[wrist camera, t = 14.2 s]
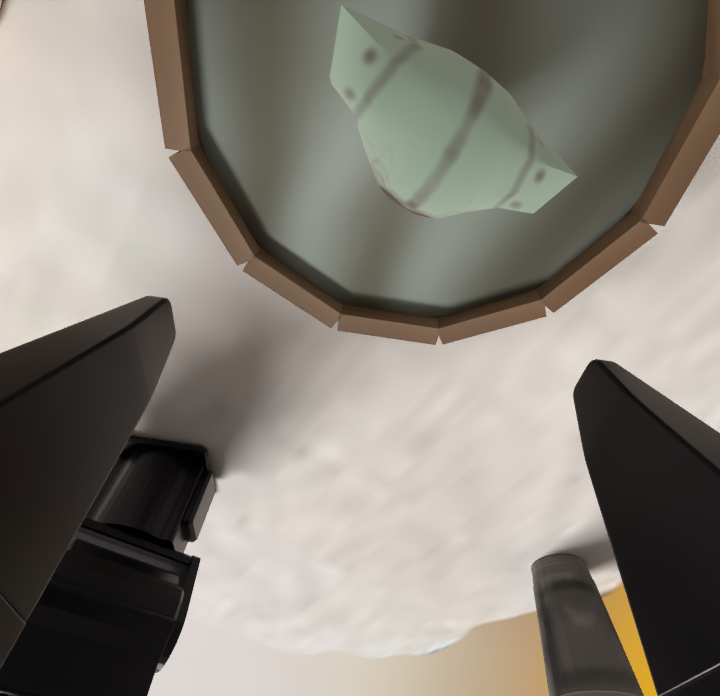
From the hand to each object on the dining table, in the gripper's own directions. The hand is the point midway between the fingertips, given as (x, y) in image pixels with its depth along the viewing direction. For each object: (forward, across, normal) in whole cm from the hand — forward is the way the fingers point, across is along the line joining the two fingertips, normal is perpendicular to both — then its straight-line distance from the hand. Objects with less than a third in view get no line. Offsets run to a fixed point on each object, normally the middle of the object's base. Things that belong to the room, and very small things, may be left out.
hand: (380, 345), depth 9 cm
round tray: (+12, -1, -3) cm, 12 cm away
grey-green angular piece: (+11, -1, -3) cm, 12 cm away
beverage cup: (+12, -20, +30) cm, 38 cm away
